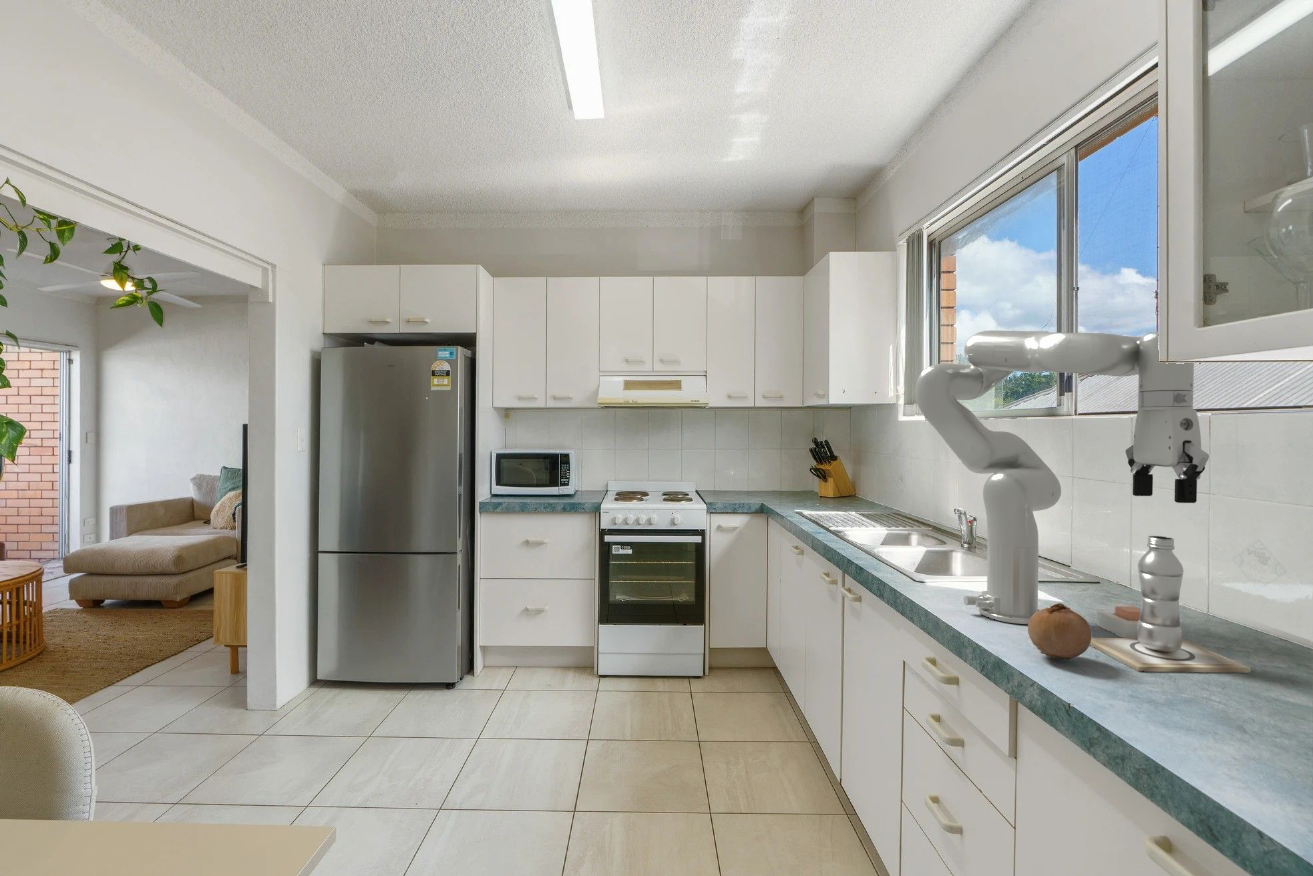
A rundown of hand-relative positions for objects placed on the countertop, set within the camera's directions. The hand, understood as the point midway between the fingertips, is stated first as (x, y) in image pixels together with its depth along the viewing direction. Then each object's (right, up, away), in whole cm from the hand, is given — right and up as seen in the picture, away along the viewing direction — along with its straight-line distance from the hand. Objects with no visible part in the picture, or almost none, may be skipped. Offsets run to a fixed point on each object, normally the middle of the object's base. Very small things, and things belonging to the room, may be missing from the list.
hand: (1163, 499), depth 110 cm
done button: (+5, -26, +13) cm, 29 cm away
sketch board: (0, -28, +1) cm, 28 cm away
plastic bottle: (0, -27, +1) cm, 27 cm away
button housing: (+5, -28, +13) cm, 31 cm away
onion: (-19, -28, -1) cm, 34 cm away
